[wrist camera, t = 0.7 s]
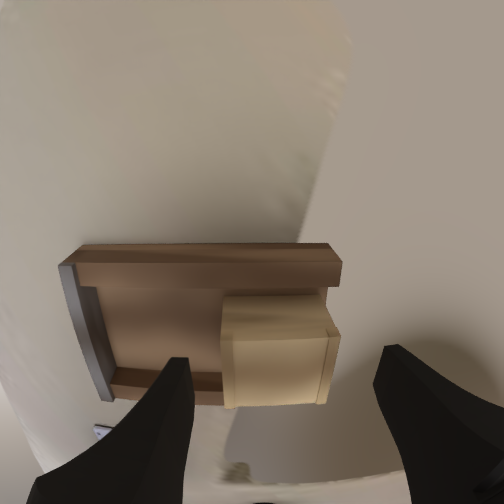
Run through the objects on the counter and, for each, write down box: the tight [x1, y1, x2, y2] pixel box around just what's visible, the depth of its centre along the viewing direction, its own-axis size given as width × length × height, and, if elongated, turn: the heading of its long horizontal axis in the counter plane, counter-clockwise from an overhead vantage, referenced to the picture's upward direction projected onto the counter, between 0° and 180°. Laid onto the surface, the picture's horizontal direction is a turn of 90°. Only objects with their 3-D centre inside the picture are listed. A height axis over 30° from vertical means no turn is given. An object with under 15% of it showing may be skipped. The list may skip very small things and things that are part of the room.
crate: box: [220, 295, 341, 409], centre depth 18 cm, size 5×6×5 cm
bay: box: [58, 243, 342, 405], centre depth 19 cm, size 11×16×4 cm
